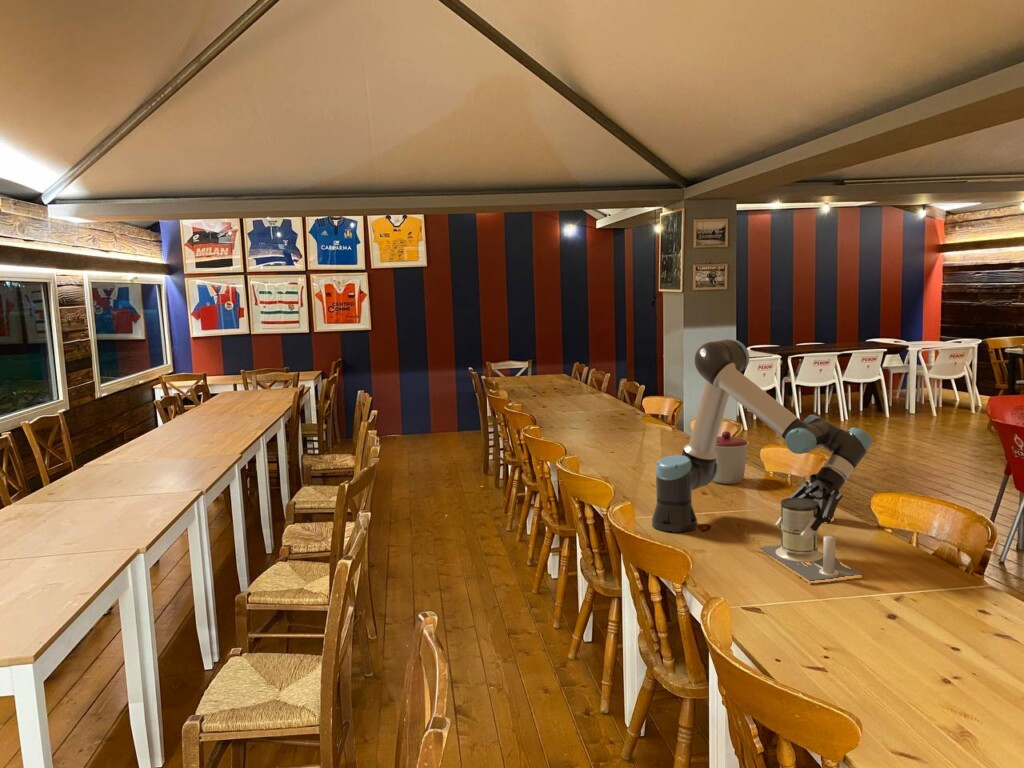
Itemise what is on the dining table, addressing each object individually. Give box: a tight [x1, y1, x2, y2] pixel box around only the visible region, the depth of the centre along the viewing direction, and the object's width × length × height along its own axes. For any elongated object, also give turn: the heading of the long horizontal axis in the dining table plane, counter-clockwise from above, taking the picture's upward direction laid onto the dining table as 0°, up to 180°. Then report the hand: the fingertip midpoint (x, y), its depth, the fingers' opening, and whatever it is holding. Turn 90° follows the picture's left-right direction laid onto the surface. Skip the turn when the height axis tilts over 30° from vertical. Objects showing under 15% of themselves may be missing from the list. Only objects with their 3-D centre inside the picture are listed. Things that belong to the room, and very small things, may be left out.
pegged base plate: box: [758, 535, 863, 581], centre depth 213 cm, size 16×27×11 cm, turn 10°
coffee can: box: [780, 497, 819, 554], centre depth 218 cm, size 10×10×14 cm
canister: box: [712, 431, 750, 485], centre depth 307 cm, size 18×18×21 cm
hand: (790, 532), depth 217 cm, fingers closed on coffee can, 10 cm apart
